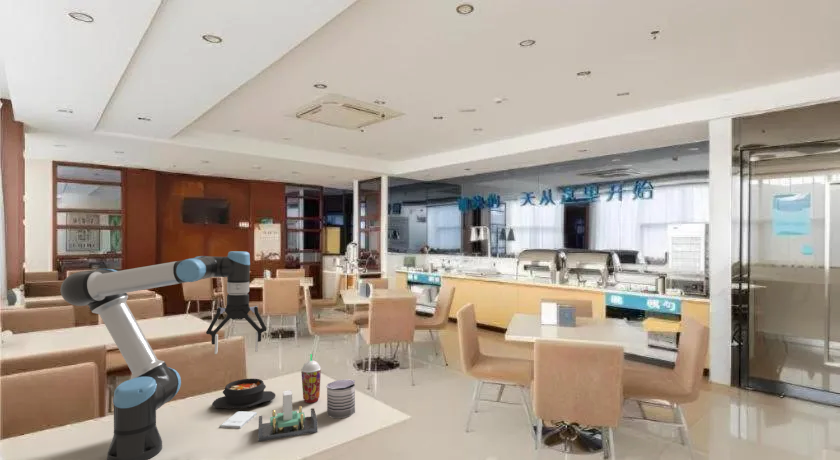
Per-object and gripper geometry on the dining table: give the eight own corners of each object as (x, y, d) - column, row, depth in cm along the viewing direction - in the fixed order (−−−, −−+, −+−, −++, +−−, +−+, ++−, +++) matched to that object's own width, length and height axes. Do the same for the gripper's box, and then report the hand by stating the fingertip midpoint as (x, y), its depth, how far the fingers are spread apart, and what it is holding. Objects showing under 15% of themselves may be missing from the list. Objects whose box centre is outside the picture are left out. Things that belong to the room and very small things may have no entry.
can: (340, 420, 166) (339, 389, 166) (320, 413, 173) (320, 383, 173) (361, 411, 175) (361, 381, 175) (342, 404, 182) (341, 376, 182)
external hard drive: (256, 415, 172) (240, 430, 160) (237, 415, 173) (219, 429, 161) (256, 411, 172) (240, 425, 160) (237, 411, 173) (219, 424, 161)
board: (270, 428, 151) (270, 399, 152) (270, 417, 161) (270, 390, 161) (305, 423, 155) (305, 395, 156) (303, 412, 165) (303, 386, 165)
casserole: (274, 392, 197) (274, 373, 197) (276, 407, 180) (276, 387, 180) (214, 400, 188) (214, 380, 188) (210, 417, 171) (210, 395, 171)
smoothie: (299, 398, 188) (299, 353, 189) (319, 395, 192) (318, 350, 192) (303, 405, 181) (302, 357, 181) (323, 402, 184) (322, 355, 185)
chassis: (258, 441, 150) (258, 422, 150) (258, 428, 160) (258, 410, 160) (317, 432, 156) (317, 414, 156) (314, 419, 167) (314, 403, 167)
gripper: (198, 295, 150) (196, 357, 150) (274, 294, 158) (272, 352, 158) (201, 293, 157) (200, 351, 157) (273, 291, 166) (272, 346, 165)
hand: (236, 351), depth 157 cm, fingers open, 13 cm apart
